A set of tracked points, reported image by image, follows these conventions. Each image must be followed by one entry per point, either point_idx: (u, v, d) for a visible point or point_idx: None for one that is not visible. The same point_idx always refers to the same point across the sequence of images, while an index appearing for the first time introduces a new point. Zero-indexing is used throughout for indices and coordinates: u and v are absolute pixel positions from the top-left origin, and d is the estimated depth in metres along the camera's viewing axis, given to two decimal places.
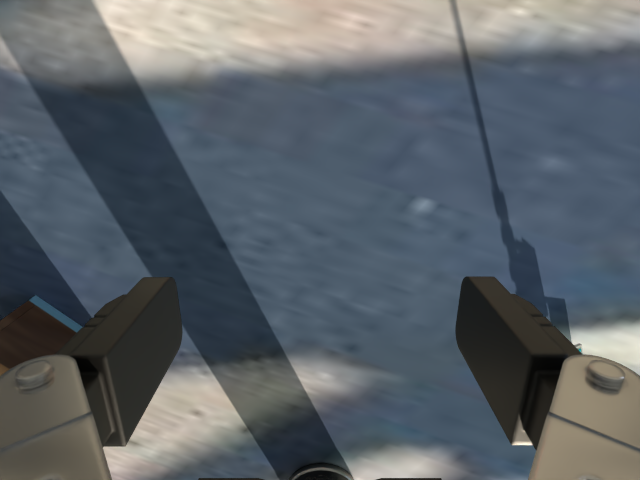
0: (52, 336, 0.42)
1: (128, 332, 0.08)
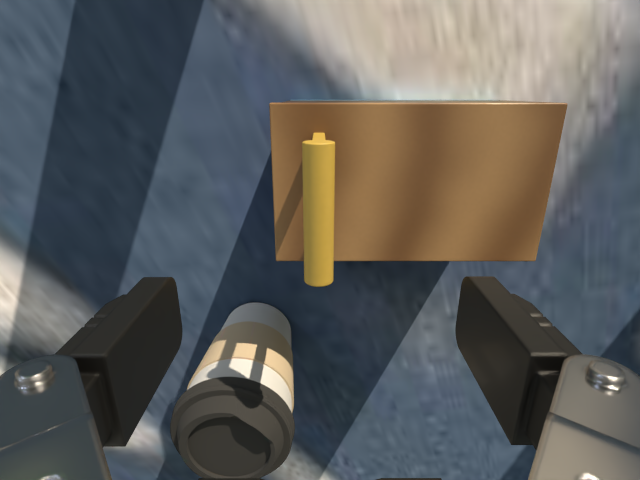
0: None
1: (128, 332, 0.08)
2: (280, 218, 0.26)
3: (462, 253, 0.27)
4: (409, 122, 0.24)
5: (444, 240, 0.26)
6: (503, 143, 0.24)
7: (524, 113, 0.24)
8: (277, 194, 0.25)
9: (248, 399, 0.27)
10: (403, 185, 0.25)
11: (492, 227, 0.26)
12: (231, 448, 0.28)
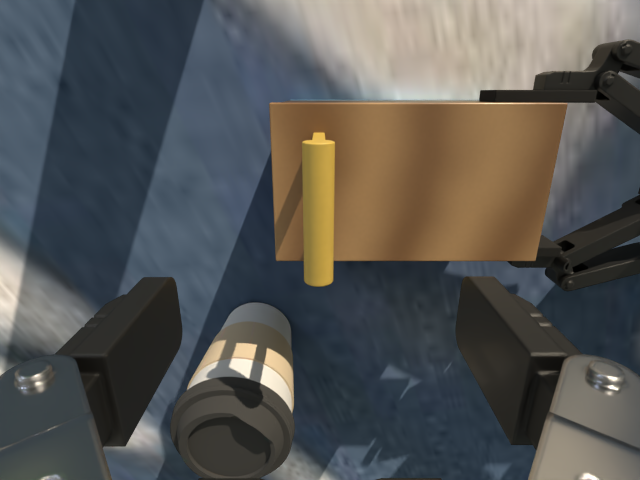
0: None
1: (128, 332, 0.08)
2: (280, 218, 0.26)
3: (462, 253, 0.27)
4: (409, 122, 0.24)
5: (444, 240, 0.26)
6: (503, 143, 0.24)
7: (525, 113, 0.24)
8: (277, 194, 0.25)
9: (248, 399, 0.27)
10: (403, 185, 0.25)
11: (491, 227, 0.26)
12: (231, 448, 0.28)
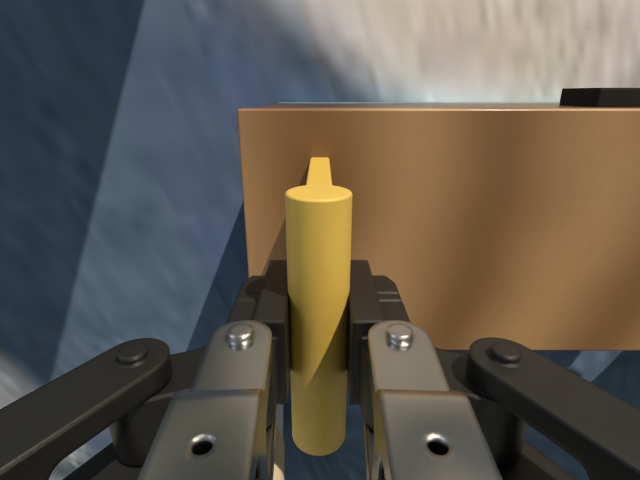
0: None
1: (287, 304, 0.09)
2: None
3: (540, 339, 0.17)
4: (469, 140, 0.14)
5: (513, 320, 0.17)
6: (621, 173, 0.15)
7: None
8: (253, 253, 0.16)
9: None
10: (454, 240, 0.16)
11: (589, 302, 0.17)
12: None
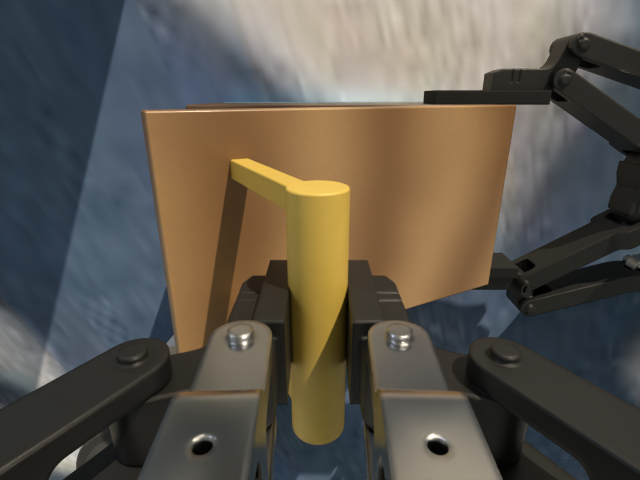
0: None
1: (287, 304, 0.09)
2: (184, 308, 0.15)
3: (424, 294, 0.21)
4: (365, 135, 0.17)
5: (406, 284, 0.20)
6: (462, 155, 0.20)
7: (481, 117, 0.19)
8: (175, 270, 0.14)
9: None
10: (360, 223, 0.18)
11: (452, 257, 0.21)
12: None
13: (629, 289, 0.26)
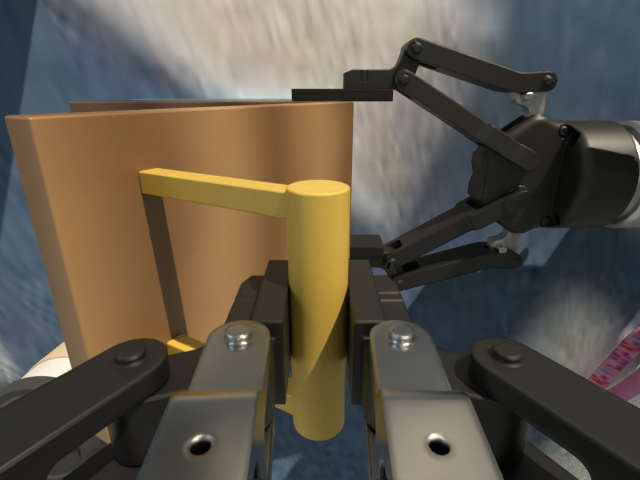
0: None
1: (286, 304, 0.09)
2: None
3: None
4: (257, 134, 0.16)
5: None
6: (325, 147, 0.22)
7: (334, 113, 0.22)
8: (88, 317, 0.11)
9: None
10: (261, 222, 0.18)
11: None
12: None
13: (485, 266, 0.30)
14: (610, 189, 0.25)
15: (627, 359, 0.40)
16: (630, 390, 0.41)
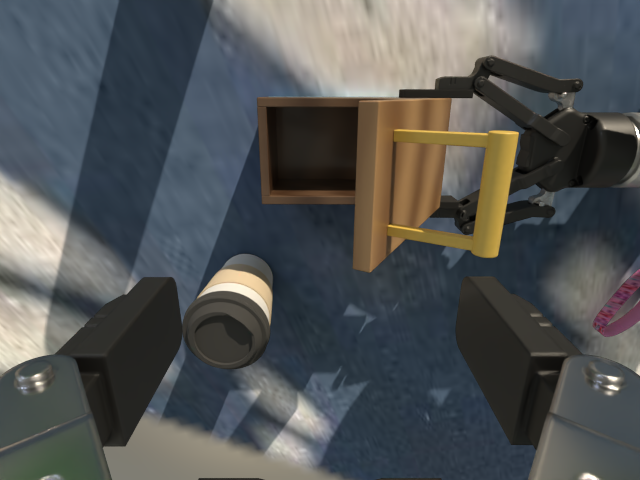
0: None
1: (128, 332, 0.08)
2: (375, 225, 0.24)
3: (426, 214, 0.35)
4: (421, 115, 0.29)
5: (423, 207, 0.34)
6: (439, 127, 0.34)
7: (444, 105, 0.34)
8: (375, 200, 0.23)
9: (236, 305, 0.39)
10: (416, 169, 0.30)
11: (433, 190, 0.36)
12: (225, 340, 0.40)
13: (529, 215, 0.42)
14: (618, 158, 0.37)
15: (627, 295, 0.52)
16: (629, 321, 0.54)
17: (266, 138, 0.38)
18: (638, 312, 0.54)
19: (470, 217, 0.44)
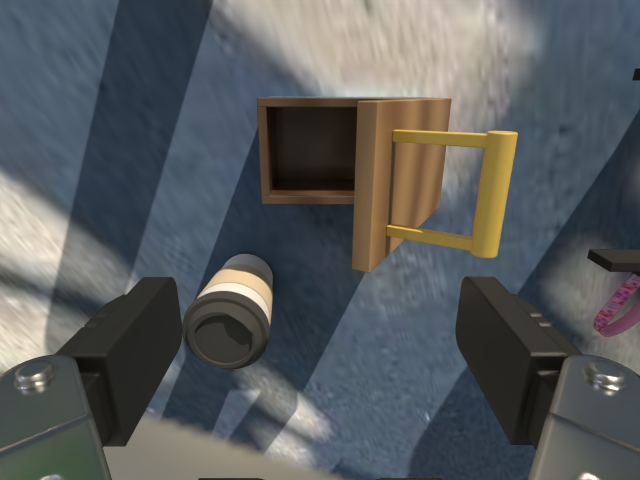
0: None
1: (128, 332, 0.08)
2: (374, 225, 0.24)
3: (425, 214, 0.35)
4: (421, 115, 0.29)
5: (422, 207, 0.34)
6: (439, 127, 0.34)
7: (444, 105, 0.34)
8: (374, 200, 0.23)
9: (236, 305, 0.39)
10: (415, 169, 0.30)
11: (433, 190, 0.36)
12: (225, 340, 0.40)
13: None
14: None
15: (627, 295, 0.52)
16: (629, 321, 0.54)
17: (266, 138, 0.38)
18: (638, 312, 0.54)
19: None
